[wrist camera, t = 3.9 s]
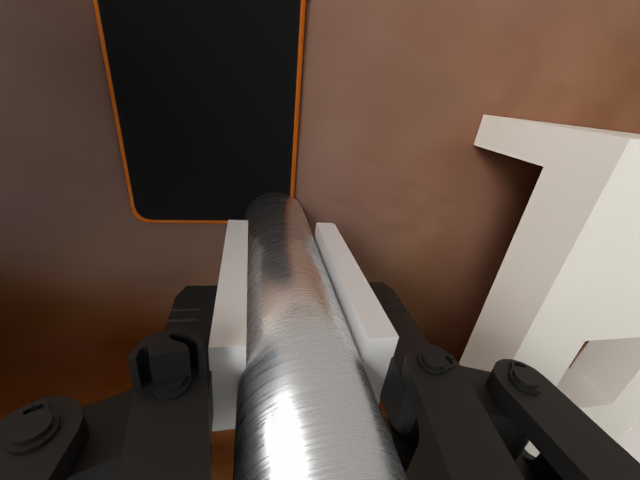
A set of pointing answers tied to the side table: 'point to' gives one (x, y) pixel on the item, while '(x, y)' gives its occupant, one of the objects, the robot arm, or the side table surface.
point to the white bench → (570, 269)
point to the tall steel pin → (302, 365)
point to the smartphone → (203, 102)
